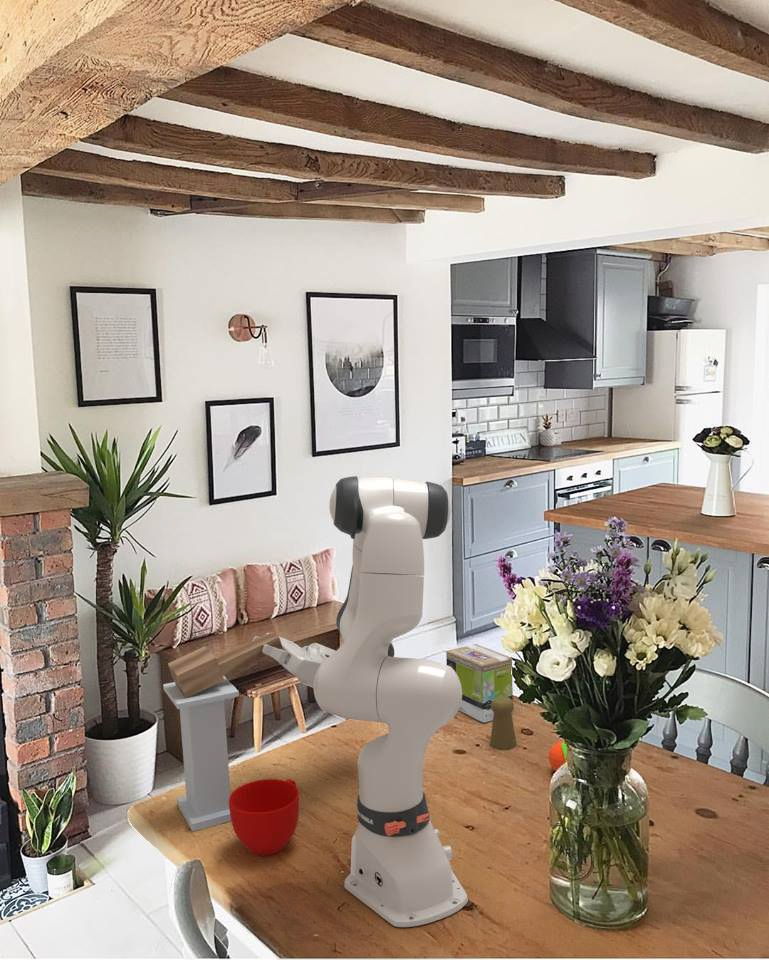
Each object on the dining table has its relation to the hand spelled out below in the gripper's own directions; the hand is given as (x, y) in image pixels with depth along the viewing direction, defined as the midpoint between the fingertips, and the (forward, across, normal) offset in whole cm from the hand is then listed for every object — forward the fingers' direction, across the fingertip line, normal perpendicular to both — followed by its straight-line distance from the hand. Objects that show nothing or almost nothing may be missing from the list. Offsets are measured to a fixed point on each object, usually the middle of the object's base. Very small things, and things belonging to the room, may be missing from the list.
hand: (258, 644), depth 181 cm
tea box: (-70, -15, -2) cm, 71 cm away
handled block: (+3, 0, +6) cm, 7 cm away
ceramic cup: (-12, +17, +31) cm, 37 cm away
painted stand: (-6, 0, +34) cm, 35 cm away
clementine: (-67, +24, 0) cm, 71 cm away
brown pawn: (-64, +5, +1) cm, 64 cm away
